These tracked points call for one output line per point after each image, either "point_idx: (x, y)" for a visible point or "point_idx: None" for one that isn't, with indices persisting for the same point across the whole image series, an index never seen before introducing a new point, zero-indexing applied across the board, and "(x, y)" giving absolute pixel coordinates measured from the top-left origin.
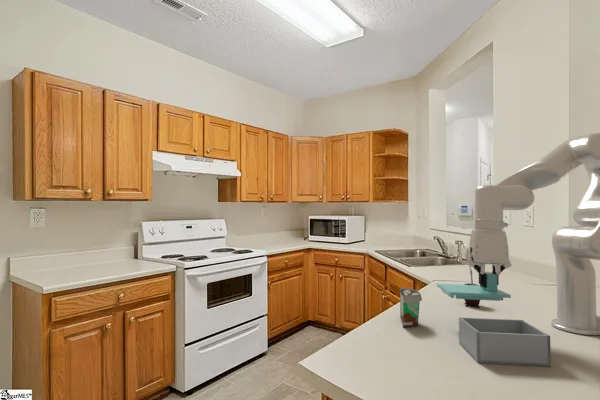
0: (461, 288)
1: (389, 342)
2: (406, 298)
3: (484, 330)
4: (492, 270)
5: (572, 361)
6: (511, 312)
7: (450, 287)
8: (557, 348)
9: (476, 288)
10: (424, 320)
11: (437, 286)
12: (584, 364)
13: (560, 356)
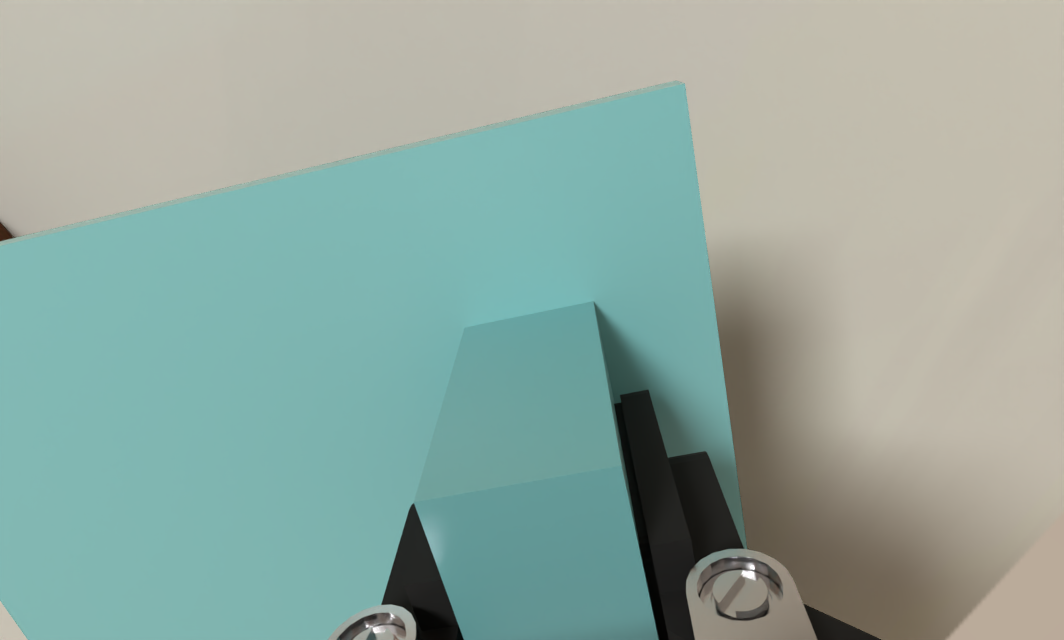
0: (200, 515)
1: (5, 634)
2: None
3: None
4: (694, 630)
5: (873, 612)
6: None
7: (55, 508)
8: (907, 462)
9: (400, 431)
10: (48, 142)
11: None
12: (912, 630)
13: (849, 570)
